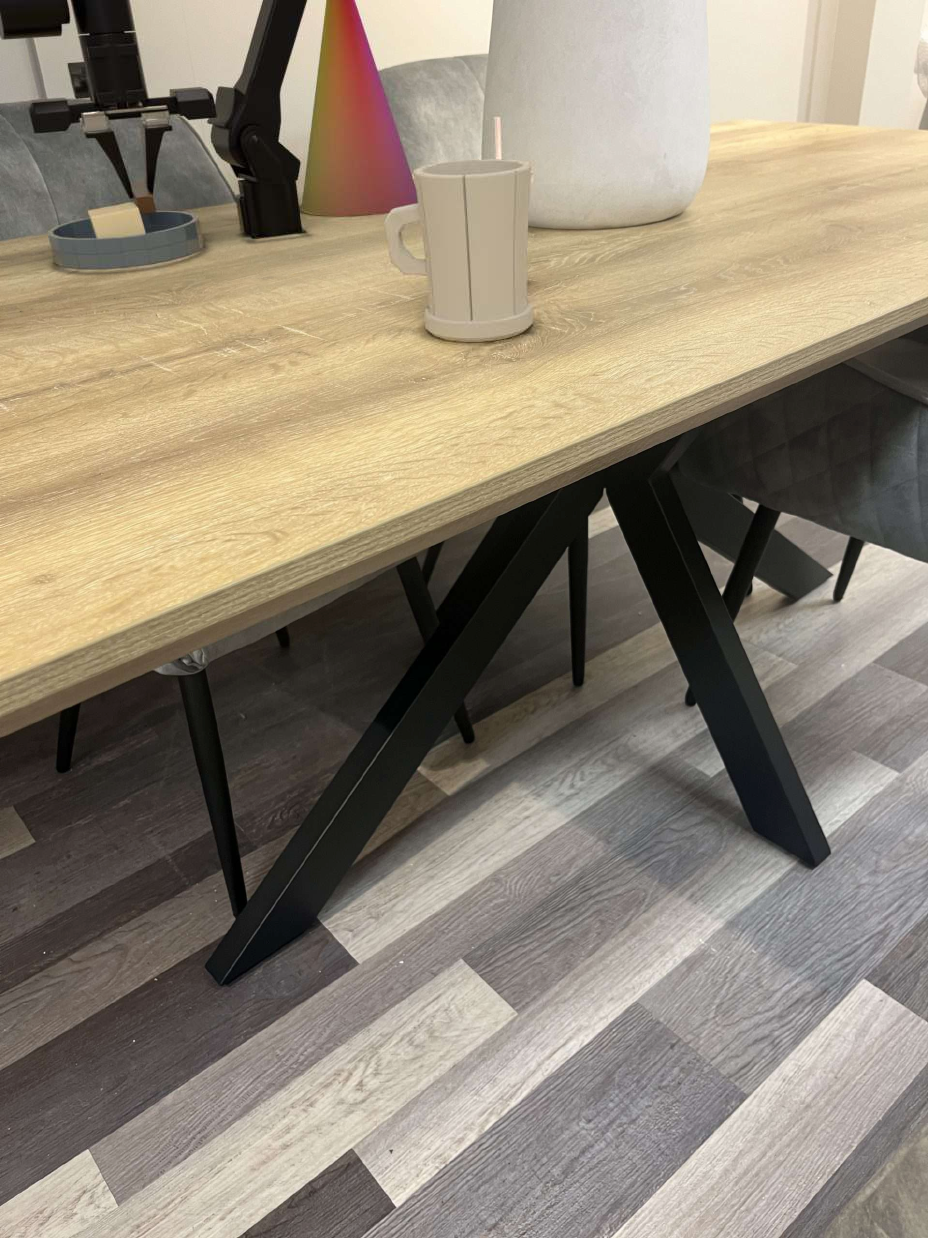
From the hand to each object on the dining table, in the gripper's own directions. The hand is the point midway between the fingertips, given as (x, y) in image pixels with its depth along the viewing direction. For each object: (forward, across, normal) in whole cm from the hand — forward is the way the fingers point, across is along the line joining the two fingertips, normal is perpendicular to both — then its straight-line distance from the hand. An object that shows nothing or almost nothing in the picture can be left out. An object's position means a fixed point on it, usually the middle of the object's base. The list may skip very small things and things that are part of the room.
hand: (141, 196), depth 110 cm
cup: (+6, -20, +48) cm, 52 cm away
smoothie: (+6, -28, +36) cm, 46 cm away
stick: (+1, 0, 0) cm, 1 cm away
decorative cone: (+6, -30, -16) cm, 34 cm away
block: (+5, +3, +4) cm, 7 cm away
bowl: (+6, +2, 0) cm, 7 cm away
